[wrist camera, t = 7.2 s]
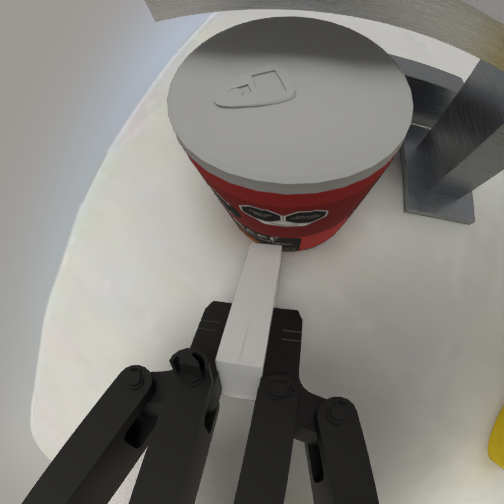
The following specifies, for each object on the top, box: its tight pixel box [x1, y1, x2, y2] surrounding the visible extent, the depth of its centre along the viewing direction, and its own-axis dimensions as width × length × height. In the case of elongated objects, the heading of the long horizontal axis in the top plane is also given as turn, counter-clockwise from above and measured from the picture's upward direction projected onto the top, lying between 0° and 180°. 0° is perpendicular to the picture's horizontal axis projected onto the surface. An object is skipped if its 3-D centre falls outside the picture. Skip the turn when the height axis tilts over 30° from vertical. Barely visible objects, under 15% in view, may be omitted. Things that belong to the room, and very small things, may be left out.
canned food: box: [167, 17, 413, 251], centre depth 12 cm, size 8×8×11 cm
